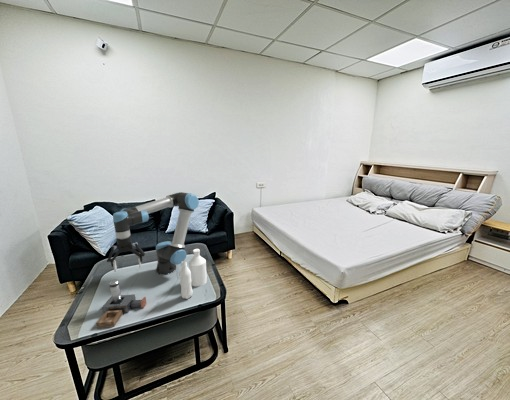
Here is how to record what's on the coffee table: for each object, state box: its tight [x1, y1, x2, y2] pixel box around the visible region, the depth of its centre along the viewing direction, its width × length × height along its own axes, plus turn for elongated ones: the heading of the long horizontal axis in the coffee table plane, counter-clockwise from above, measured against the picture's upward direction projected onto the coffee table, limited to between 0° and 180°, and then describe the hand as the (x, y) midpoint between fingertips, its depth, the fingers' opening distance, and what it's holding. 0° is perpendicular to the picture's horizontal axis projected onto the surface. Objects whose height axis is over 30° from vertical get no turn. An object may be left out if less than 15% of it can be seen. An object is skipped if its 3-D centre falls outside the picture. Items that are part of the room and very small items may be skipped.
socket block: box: [101, 294, 137, 315], centre depth 131 cm, size 14×10×5 cm
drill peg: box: [108, 279, 122, 304], centre depth 130 cm, size 5×5×18 cm
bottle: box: [188, 248, 208, 287], centre depth 154 cm, size 12×12×25 cm
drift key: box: [130, 296, 147, 309], centre depth 132 cm, size 8×4×4 cm, turn 95°
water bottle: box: [178, 260, 194, 300], centre depth 138 cm, size 7×7×25 cm
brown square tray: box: [96, 310, 124, 328], centre depth 121 cm, size 9×9×3 cm
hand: (128, 268), depth 135 cm, fingers open, 13 cm apart
